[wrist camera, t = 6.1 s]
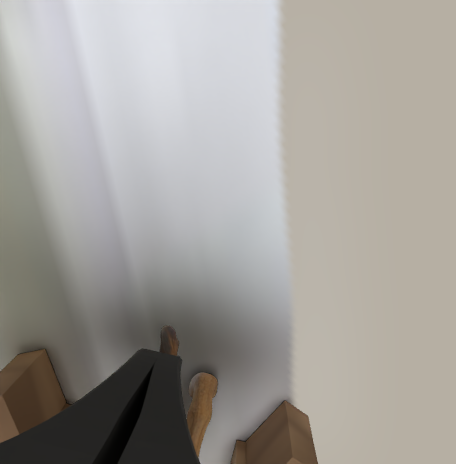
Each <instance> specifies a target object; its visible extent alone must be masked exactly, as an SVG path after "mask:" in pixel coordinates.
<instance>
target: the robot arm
mask: <svg viewBox="0 0 456 464" xmlns="http://www.w3.org/2000/svg"><path fill="white" fill-rule="evenodd" d="M181 364H182V359H181V358H180V356H175V355H171V354H166V353H161V352H156V351H152V350H147V349H140V350H139V351H137V352H136V353H135V354H134V355H133V356H132V357H131V358H130V359H129V360H128V361H127V362H126V363H125V364H124V365H123V366H121V367H120V368H119V369H118V370H117V371H116V372H115V373H113V374H112V375H111V376H110V377H109V378H107V379H106V380H105V381H104V382H102V383H101V384H100V385H99V386H97V387H96V388H95V389H93V390H92V391H91V392H89V393H88V394H86V395H85V396H84V397H82V398H81V399H80V400H78V401H77V402H75V403H74V404H72V405H71V406H69V407H68V408H66V409H65V410H63V411H61V412H60V413H58V414H56V415H55V416H53V417H51V418H50V419H48V420H46V421H44V422H42V423H41V424H39V425H37V426H35V427H33V428H31V429H29V430H27V431H25V432H23V433H21V434H19V435H17V436H15V437H13V438H11V439H8V440H6V441H4V442H1V443H0V464H200V462H199V459H198V456H197V454H196V451H195V448H194V445H193V442H192V439H191V435H190V432H189V428H188V424H187V419H186V415H185V410H184V405H183V398H182V391H181V378H180V371H181Z"/></svg>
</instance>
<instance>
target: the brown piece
mask: <svg viewBox="0 0 456 464" xmlns="http://www.w3.org/2000/svg"><path fill="white" fill-rule="evenodd" d="M65 403H66V401H65V398H64V396H63V393H62V391H61V388H60V386H59V383H58V381H57V378H56V376H55V373H54V371H53V368H52V365H51V363H50V360H49V358H48V355H47V353H46V350H45V349H43V350H38V351H33V352H27V353H22V354H18V355H17V356H16V357H15V358H14V359H13V360H12V361H11V362H10V363H9V364H8V365H7V366H6V367H5V368H4V369H3V370H2V371H0V443H1V442H4V441H6V440H8V439H11V438H13V437H15V436H17V435H19V434H21V433H23V432H25V431H27V430H29V429H31V428H33V427H35V426H37V425H39V424H41V423H42V422H44V421H46V420H48V419H50V418H51V417H53V416H55V415H56V414H58V413H60V412H61V411H63V410H65V409H66V408H68V407H69V406H71V405H69V404H65ZM231 464H318V462H317V457H316V453H315V448H314V444H313V438H312V434H311V428H310V424H309V418H308V416H307V415H306V414H304V413H303V412H301V411H300V410H299V409H297V408H296V407H294V406H293V405H291V404H290V403H288V402H287V401H284V402H283V403H282V404H281V405H280V406H279V407H278V408H277V409H276V410H275V411H274V412H273V413H272V415H271V416H270V417H269V418H268V419H267V420H266V421H265V422H264V423H263V424H262V425H261V426H260V427H259V428H258V429H257V430H256V431H255V432H254V433H253V434H252V435H251V436H250V438H249V439H248V440H247V441H246V442H243V441H238V440H237V441H236V445H235V448H234V452H233V456H232V460H231Z"/></svg>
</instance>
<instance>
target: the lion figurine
mask: <svg viewBox="0 0 456 464" xmlns="http://www.w3.org/2000/svg"><path fill="white" fill-rule="evenodd" d="M178 346H179V341H178V339H177V337H176V332H175V330H174V328H173V327H171V326H168V325H165V326H163V328H162V330H161V346H160V352H161V353H166V354H171V355H175V356H177V351H178ZM217 385H218V382H217V379H216V378H215V377H214V376H213V375H211V374H208V373H198V374H196V375H195V376H194V377H193V378H192V380H191V382H190V385H189V395H190V396H191V397H192V401H191V404H190V407H189V410H188V414H187V424H188V428H189V432H190V435H191V439H192V442H193V445H194V448H195V451H196V454H197V456H198V457H199V452H200V447H201V444H202V440H203V437H204V434H205V431H206V428H207V426H208V424H209V422H210V420H211V415H212V398H214V397H215V395H216V392H217Z"/></svg>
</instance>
